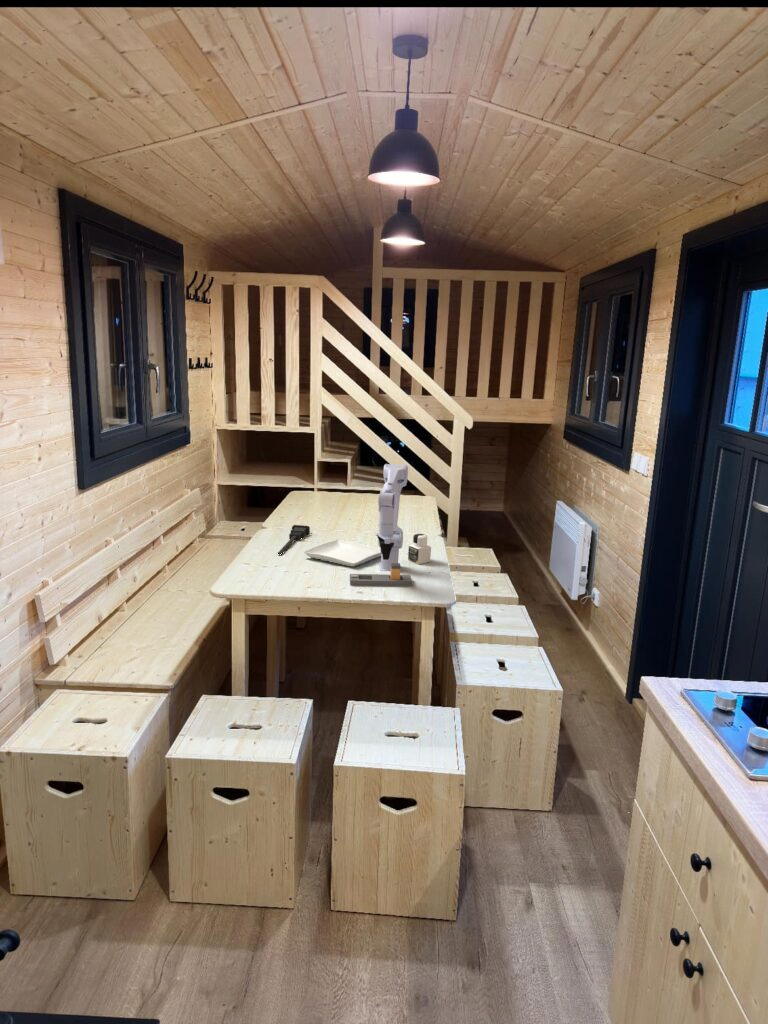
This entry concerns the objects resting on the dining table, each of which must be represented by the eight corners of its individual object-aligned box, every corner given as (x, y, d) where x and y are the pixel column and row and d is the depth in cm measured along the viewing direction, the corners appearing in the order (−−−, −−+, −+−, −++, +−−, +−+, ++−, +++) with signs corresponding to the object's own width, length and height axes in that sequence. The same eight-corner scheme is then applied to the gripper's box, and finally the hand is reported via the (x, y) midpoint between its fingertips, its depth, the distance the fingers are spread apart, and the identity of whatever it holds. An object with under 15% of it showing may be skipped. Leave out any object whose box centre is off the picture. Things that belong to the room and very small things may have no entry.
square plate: (354, 571, 293) (354, 562, 292) (301, 559, 307) (301, 550, 306) (388, 556, 316) (388, 548, 315) (337, 546, 329) (337, 538, 328)
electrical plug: (312, 533, 349) (312, 523, 348) (288, 560, 310) (288, 549, 308) (295, 531, 351) (295, 522, 349) (269, 558, 311) (269, 548, 310)
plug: (390, 581, 280) (390, 563, 278) (398, 581, 280) (399, 563, 279) (390, 584, 277) (391, 565, 275) (399, 584, 277) (400, 565, 275)
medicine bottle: (407, 560, 311) (409, 533, 308) (420, 558, 315) (422, 531, 312) (417, 564, 305) (419, 537, 302) (430, 562, 309) (432, 535, 306)
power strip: (349, 579, 281) (349, 572, 280) (409, 580, 283) (410, 573, 282) (350, 586, 273) (350, 578, 273) (411, 587, 275) (412, 579, 275)
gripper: (374, 518, 282) (373, 551, 285) (377, 527, 268) (376, 561, 271) (392, 518, 283) (390, 551, 286) (396, 527, 269) (394, 562, 272)
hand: (384, 556), depth 279 cm, fingers open, 7 cm apart
